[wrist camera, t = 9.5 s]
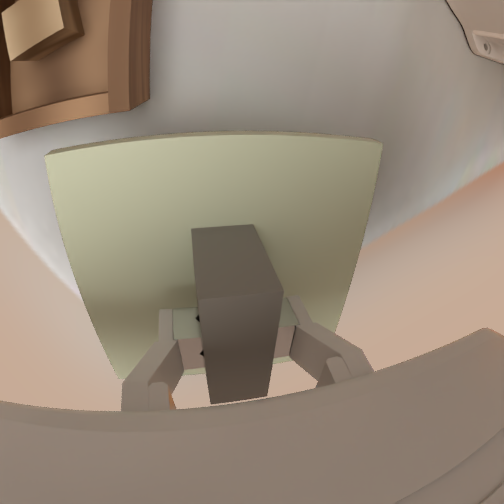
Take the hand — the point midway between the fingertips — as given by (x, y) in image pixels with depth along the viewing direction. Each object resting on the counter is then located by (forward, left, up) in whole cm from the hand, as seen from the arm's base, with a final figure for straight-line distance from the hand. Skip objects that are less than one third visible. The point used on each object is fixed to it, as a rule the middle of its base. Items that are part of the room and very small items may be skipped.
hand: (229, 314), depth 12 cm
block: (+11, -14, -13) cm, 22 cm away
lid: (0, 0, -4) cm, 4 cm away
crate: (+10, -13, -14) cm, 21 cm away
